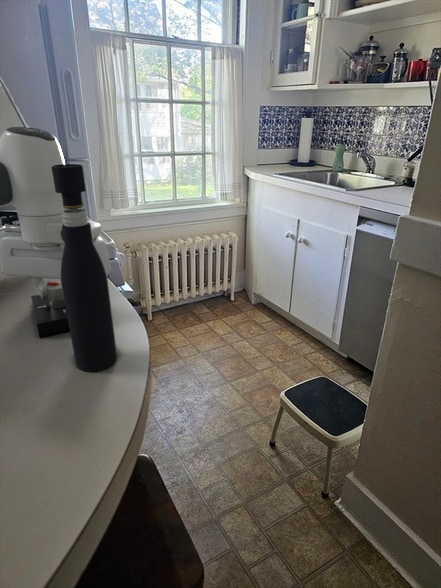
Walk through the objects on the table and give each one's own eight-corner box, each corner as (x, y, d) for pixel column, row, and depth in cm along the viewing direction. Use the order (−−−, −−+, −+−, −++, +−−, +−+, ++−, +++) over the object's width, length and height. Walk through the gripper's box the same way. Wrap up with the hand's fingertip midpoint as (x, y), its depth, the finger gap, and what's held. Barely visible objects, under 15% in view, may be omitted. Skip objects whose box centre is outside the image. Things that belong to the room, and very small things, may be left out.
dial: (78, 299, 77) (74, 279, 75) (66, 309, 73) (62, 288, 71) (57, 297, 77) (53, 277, 76) (44, 307, 73) (40, 286, 72)
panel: (97, 326, 73) (95, 311, 72) (39, 339, 69) (36, 323, 68) (84, 299, 84) (82, 286, 82) (33, 309, 79) (30, 295, 78)
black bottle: (101, 376, 59) (70, 169, 47) (66, 367, 61) (28, 167, 49) (125, 354, 65) (103, 164, 52) (92, 347, 67) (64, 162, 54)
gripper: (-18, 229, 68) (1, 301, 73) (93, 234, 65) (103, 309, 70) (6, 220, 73) (21, 288, 79) (109, 225, 70) (117, 295, 76)
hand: (61, 298), depth 75 cm, fingers closed on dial, 4 cm apart
